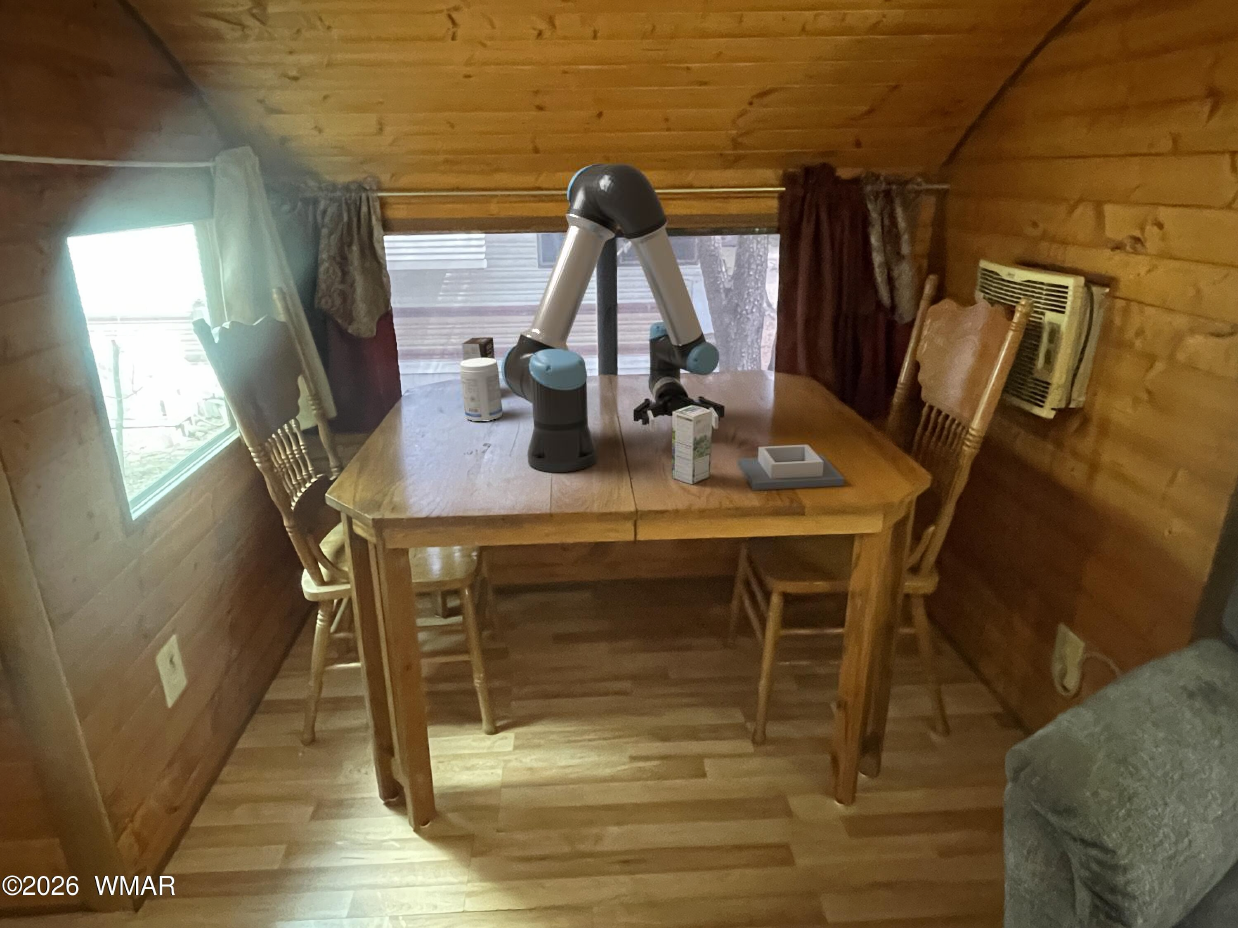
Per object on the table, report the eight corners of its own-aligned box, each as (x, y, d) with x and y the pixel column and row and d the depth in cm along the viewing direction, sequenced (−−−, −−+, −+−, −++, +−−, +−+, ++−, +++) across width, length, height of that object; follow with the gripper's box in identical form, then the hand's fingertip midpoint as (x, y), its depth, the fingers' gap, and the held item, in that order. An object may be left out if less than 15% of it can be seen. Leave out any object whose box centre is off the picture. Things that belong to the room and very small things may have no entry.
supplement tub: (498, 410, 210) (493, 355, 205) (506, 420, 201) (502, 363, 196) (461, 414, 207) (456, 359, 201) (468, 425, 198) (463, 367, 193)
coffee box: (488, 401, 218) (483, 343, 212) (466, 401, 219) (460, 343, 213) (498, 392, 226) (493, 336, 221) (476, 392, 227) (471, 336, 222)
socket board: (753, 490, 154) (754, 468, 153) (738, 465, 168) (738, 445, 166) (843, 485, 156) (845, 464, 154) (821, 461, 169) (822, 441, 167)
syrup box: (689, 470, 165) (689, 404, 160) (711, 477, 161) (712, 409, 156) (671, 478, 161) (671, 410, 156) (693, 485, 157) (693, 416, 152)
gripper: (722, 409, 189) (742, 438, 169) (618, 414, 188) (626, 443, 168) (723, 379, 187) (743, 404, 167) (617, 383, 185) (625, 409, 165)
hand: (684, 424), depth 167 cm, fingers open, 13 cm apart
